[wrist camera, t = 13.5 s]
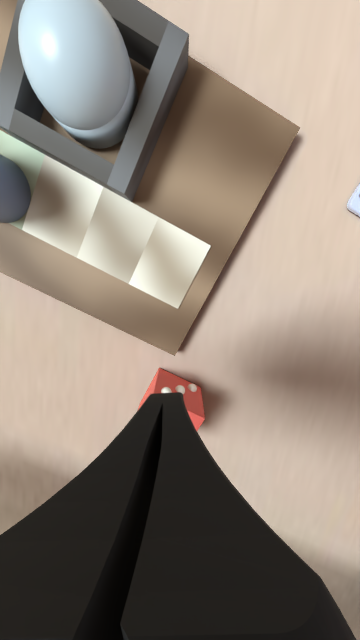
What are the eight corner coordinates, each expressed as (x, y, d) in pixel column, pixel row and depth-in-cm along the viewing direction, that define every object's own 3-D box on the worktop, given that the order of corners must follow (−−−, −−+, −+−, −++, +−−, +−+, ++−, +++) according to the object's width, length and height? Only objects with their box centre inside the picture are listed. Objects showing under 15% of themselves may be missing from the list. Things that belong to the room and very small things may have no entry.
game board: (-60, -88, 12) (-135, -196, 9) (292, 136, 15) (319, 105, 12) (-109, 214, 16) (-172, 203, 13) (175, 350, 19) (173, 367, 16)
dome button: (74, 32, 13) (7, -108, 8) (153, 81, 13) (136, -22, 8) (46, 126, 14) (-28, 54, 9) (120, 167, 14) (88, 120, 10)
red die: (161, 363, 19) (155, 393, 15) (202, 383, 19) (208, 418, 15) (139, 404, 20) (128, 442, 16) (179, 421, 20) (178, 464, 16)
